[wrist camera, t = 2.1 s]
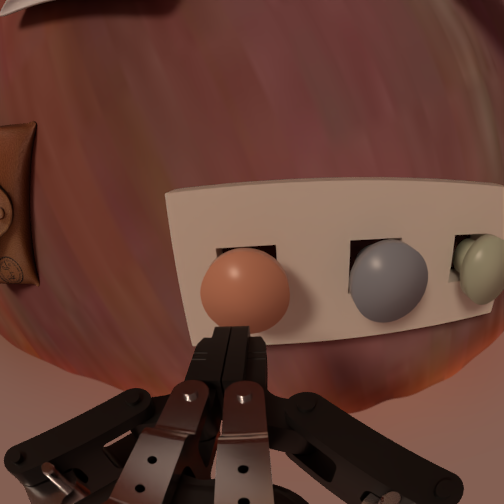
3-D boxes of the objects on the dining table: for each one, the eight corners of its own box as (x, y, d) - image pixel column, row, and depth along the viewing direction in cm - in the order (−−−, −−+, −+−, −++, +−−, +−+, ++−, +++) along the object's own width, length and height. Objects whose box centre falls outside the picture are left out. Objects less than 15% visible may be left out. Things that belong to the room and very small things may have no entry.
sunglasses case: (43, 291, 24) (-8, 307, 19) (28, 269, 28) (-15, 281, 22) (39, 115, 18) (-22, 119, 13) (26, 122, 22) (-23, 126, 16)
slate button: (375, 213, 18) (398, 226, 15) (415, 260, 19) (440, 280, 16) (324, 267, 20) (336, 291, 16) (369, 308, 21) (385, 335, 17)
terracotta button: (243, 220, 19) (238, 235, 15) (301, 268, 20) (308, 293, 16) (197, 274, 20) (183, 299, 17) (252, 316, 21) (249, 347, 18)
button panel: (494, 183, 18) (511, 187, 16) (477, 301, 22) (490, 312, 20) (176, 189, 20) (165, 193, 18) (198, 328, 24) (192, 345, 22)
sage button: (470, 212, 18) (500, 224, 14) (492, 253, 18) (518, 268, 15) (432, 258, 19) (458, 278, 15) (458, 295, 20) (481, 316, 16)
